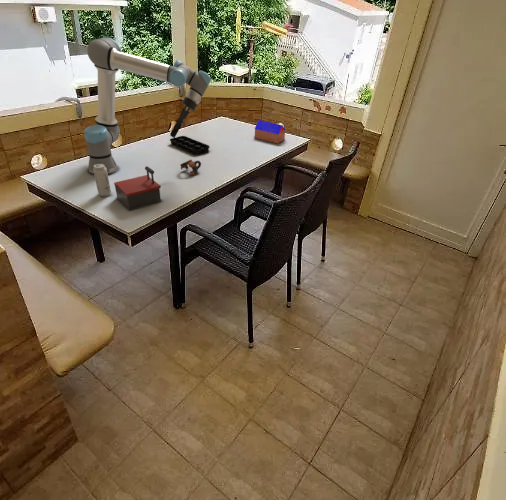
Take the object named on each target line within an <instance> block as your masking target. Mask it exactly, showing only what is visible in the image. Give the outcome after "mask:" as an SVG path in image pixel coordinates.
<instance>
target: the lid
mask: <svg viewBox="0 0 506 500" xmlns="http://www.w3.org/2000/svg"><path fill="white" fill-rule="evenodd" d="M144 170H145V171H146V174H145V175H140V176H136V177H132V178H127V179H123V180H118V181H115V182H113V183H114V186H115V185H116V186H117V187H118V188H119V189H120V190H121V191H122V192H123V193H124V194H125V195H126V196H127V197H128V196H132V195H136V194H139V193H143V192H147V191H151V190H155V189H161V188H162V186H161V185H160V184H159V183H158V182H157V181H156V180H155V179H154V174H155V170H153V169H152V168H151V167H149V166H148V165H145V167H144ZM150 176H151V177H150Z"/></svg>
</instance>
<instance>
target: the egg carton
mask: <svg viewBox="0 0 506 500" xmlns="http://www.w3.org/2000/svg"><path fill="white" fill-rule="evenodd" d="M169 142H170V144H171V145H172V146H175V147H177V148H179V149H181V150H183V151H186V152H188V153H191V154H193V155H195V156H197V155H201V154H202V153H208V152H209V149H210V145H209V144H207V143H204V142H201V141H199V140H197V139H193V138H191V137H188V136H187V135H180V136H175V138H173V137H172V138H170V139H169Z"/></svg>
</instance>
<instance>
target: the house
mask: <svg viewBox="0 0 506 500" xmlns="http://www.w3.org/2000/svg"><path fill="white" fill-rule="evenodd" d="M286 131H287V130H286V128H285V127H284V125H283V124H279V123H274V122H269V121H266V120H261V119H259V120H258V121H257V123H256V125H255V127H254V139H257V140H262V141H266V142H269V143H274V144H280V143H281V142H283V141H284V140H285V139H286V138H285V137H286Z"/></svg>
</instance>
